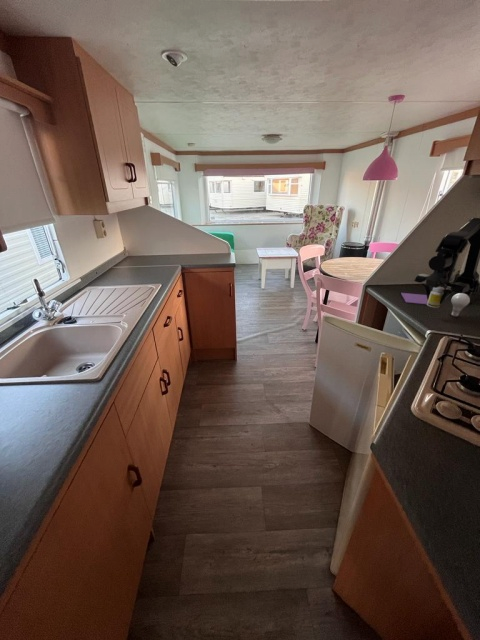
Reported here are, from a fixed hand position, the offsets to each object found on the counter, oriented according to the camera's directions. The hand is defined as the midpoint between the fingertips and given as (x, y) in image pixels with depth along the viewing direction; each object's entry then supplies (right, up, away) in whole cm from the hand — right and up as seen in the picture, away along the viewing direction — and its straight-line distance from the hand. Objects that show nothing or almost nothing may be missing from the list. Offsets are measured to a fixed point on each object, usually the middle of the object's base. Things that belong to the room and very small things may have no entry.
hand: (434, 301), depth 116 cm
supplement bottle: (0, -2, +1) cm, 2 cm away
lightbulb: (+13, -7, +5) cm, 15 cm away
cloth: (+9, +3, +24) cm, 26 cm away
